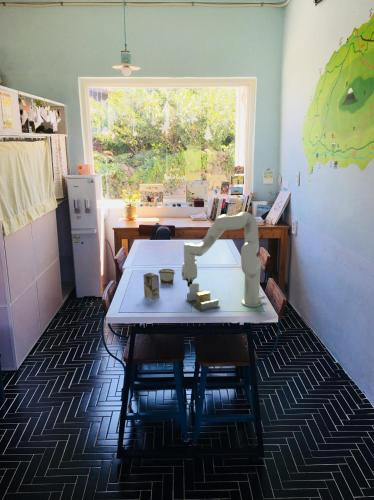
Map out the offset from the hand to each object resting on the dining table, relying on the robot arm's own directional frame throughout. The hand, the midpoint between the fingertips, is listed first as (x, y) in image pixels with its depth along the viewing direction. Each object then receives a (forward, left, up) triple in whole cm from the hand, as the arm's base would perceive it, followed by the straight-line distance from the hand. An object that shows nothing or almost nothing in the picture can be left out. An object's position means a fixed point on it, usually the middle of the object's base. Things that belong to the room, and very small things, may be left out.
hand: (189, 287), depth 280 cm
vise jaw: (0, +8, -5) cm, 9 cm away
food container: (+2, -31, -6) cm, 32 cm away
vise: (0, +17, -6) cm, 18 cm away
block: (0, +18, -5) cm, 19 cm away
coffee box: (+24, -10, -6) cm, 27 cm away
